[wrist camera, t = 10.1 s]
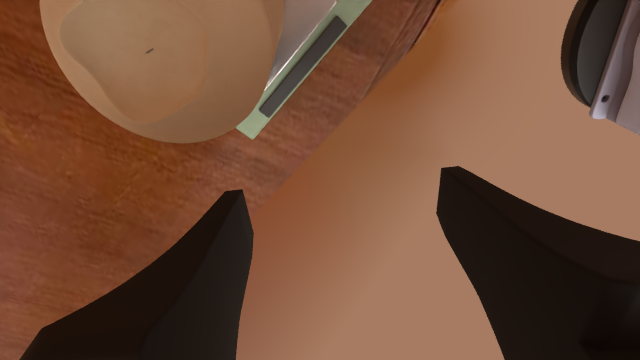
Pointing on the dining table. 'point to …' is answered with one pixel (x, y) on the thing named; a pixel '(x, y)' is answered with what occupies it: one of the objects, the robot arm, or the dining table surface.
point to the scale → (302, 64)
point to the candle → (167, 60)
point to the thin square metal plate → (297, 29)
